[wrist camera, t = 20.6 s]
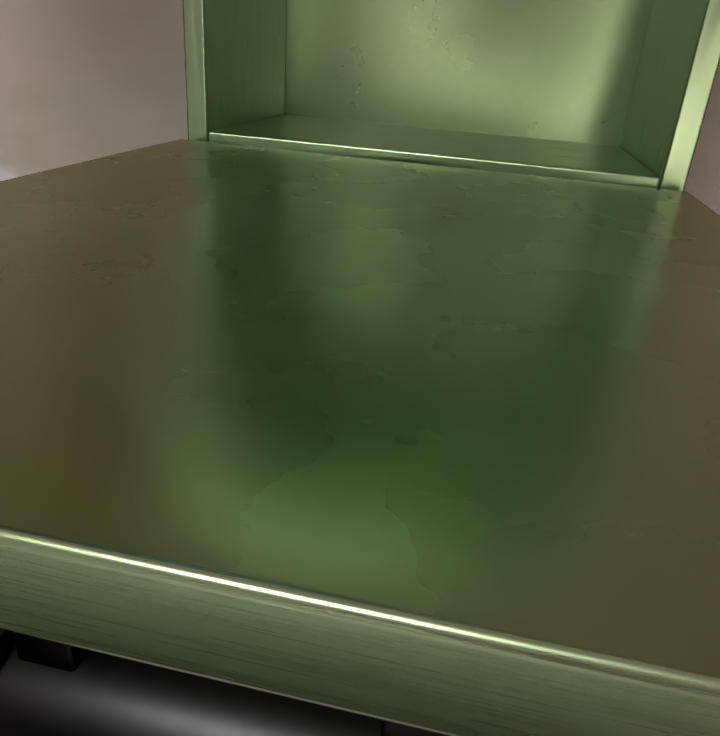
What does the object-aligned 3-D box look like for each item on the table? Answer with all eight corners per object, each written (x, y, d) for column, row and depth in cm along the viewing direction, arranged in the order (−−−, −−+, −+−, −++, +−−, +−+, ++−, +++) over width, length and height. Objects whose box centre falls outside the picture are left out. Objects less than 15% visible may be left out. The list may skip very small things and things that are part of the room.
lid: (-802, 365, 5) (-441, 829, 7) (1648, 889, 2) (971, 1292, 5) (179, 138, 18) (188, 322, 20) (689, 191, 16) (633, 388, 18)
